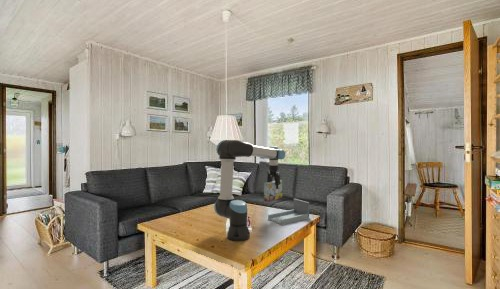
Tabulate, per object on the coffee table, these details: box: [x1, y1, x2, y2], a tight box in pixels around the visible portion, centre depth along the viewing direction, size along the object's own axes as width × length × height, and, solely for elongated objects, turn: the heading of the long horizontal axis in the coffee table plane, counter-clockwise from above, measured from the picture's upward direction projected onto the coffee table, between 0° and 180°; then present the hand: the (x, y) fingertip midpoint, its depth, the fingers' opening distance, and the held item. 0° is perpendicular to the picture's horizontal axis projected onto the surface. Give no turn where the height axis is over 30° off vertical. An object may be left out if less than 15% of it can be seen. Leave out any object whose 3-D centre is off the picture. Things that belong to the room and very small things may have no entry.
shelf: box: [267, 198, 310, 226], centre depth 210 cm, size 30×17×13 cm, turn 124°
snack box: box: [263, 179, 283, 203], centre depth 215 cm, size 21×6×15 cm, turn 143°
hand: (273, 192), depth 215 cm, fingers closed on snack box, 7 cm apart
